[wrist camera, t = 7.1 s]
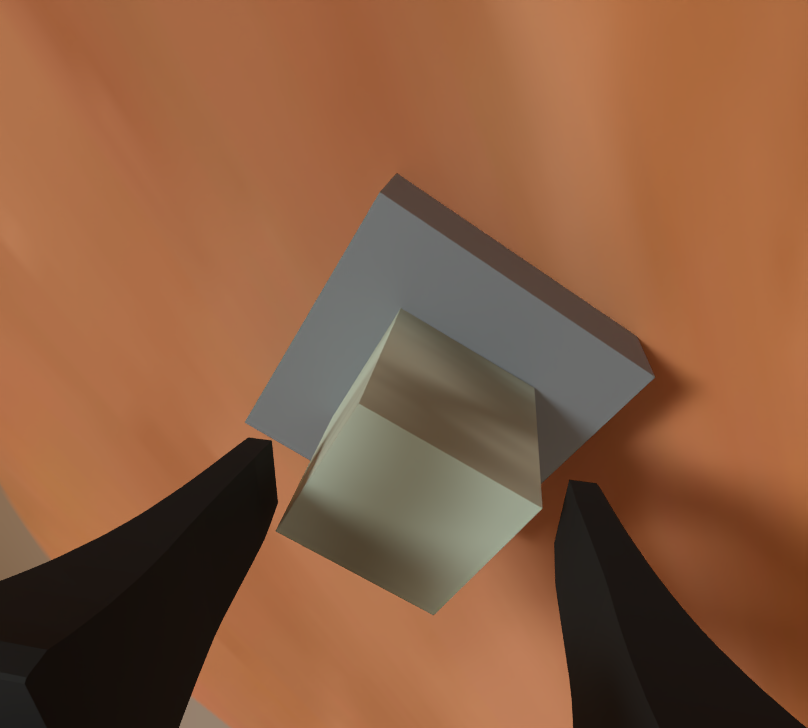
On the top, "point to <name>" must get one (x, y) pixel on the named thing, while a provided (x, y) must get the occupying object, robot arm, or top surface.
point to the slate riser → (452, 327)
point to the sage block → (421, 468)
